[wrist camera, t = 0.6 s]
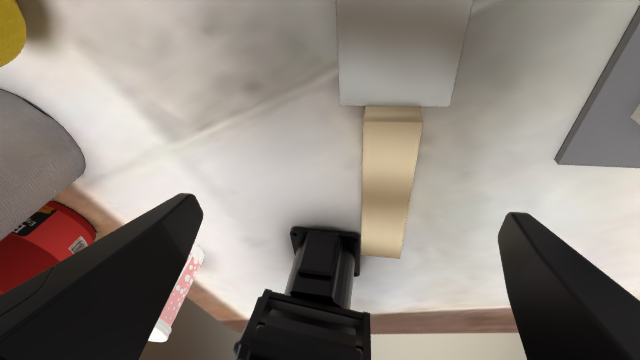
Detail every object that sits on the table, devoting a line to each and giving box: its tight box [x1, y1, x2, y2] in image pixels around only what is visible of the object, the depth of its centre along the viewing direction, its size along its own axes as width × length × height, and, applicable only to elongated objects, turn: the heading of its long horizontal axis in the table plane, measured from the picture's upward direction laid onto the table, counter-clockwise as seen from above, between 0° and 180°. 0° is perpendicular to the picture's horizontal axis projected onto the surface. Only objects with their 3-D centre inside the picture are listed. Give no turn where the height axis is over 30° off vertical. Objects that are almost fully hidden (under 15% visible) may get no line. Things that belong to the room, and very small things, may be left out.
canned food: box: [0, 201, 96, 295], centre depth 31 cm, size 8×8×11 cm
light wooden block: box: [336, 0, 473, 259], centre depth 18 cm, size 19×6×3 cm, turn 5°
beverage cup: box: [148, 243, 205, 342], centre depth 28 cm, size 6×6×14 cm
